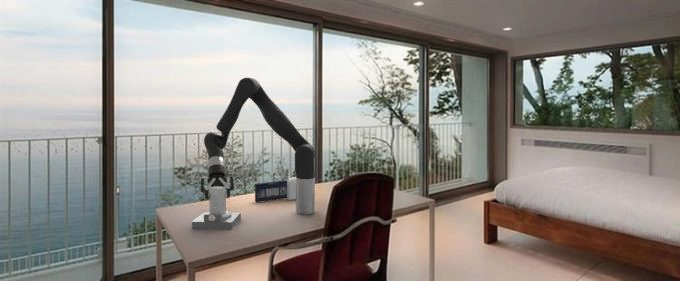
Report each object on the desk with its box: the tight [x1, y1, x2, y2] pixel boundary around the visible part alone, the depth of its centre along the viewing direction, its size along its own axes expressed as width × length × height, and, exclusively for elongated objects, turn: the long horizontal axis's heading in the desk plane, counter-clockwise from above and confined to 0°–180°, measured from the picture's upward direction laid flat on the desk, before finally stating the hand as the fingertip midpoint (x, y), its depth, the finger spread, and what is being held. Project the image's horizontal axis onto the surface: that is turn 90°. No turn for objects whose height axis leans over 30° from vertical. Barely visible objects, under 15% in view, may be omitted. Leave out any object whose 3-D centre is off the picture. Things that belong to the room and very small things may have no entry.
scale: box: [191, 210, 242, 230], centre depth 168 cm, size 17×14×6 cm
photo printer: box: [286, 176, 296, 201], centre depth 212 cm, size 10×4×12 cm, turn 123°
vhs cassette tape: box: [254, 179, 288, 203], centre depth 209 cm, size 18×3×10 cm, turn 120°
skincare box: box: [208, 186, 227, 215], centre depth 169 cm, size 6×4×12 cm
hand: (218, 198), depth 168 cm, fingers open, 8 cm apart
